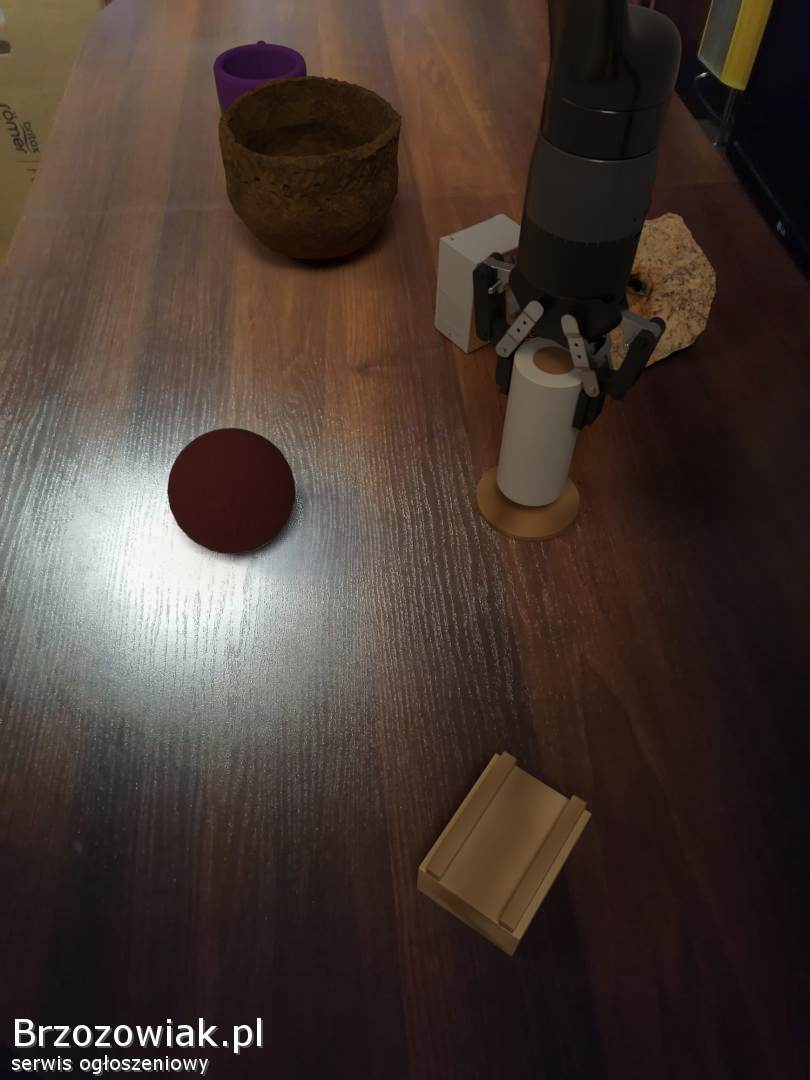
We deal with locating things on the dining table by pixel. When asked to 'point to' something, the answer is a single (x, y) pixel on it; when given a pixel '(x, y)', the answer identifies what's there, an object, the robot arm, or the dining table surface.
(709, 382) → the dining table surface
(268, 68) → the mug
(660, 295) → the beige speckled lump
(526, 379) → the paper towel roll
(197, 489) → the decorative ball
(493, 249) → the small box
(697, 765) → the dining table surface
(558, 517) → the coaster
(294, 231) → the bowl
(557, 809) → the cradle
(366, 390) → the dining table surface
